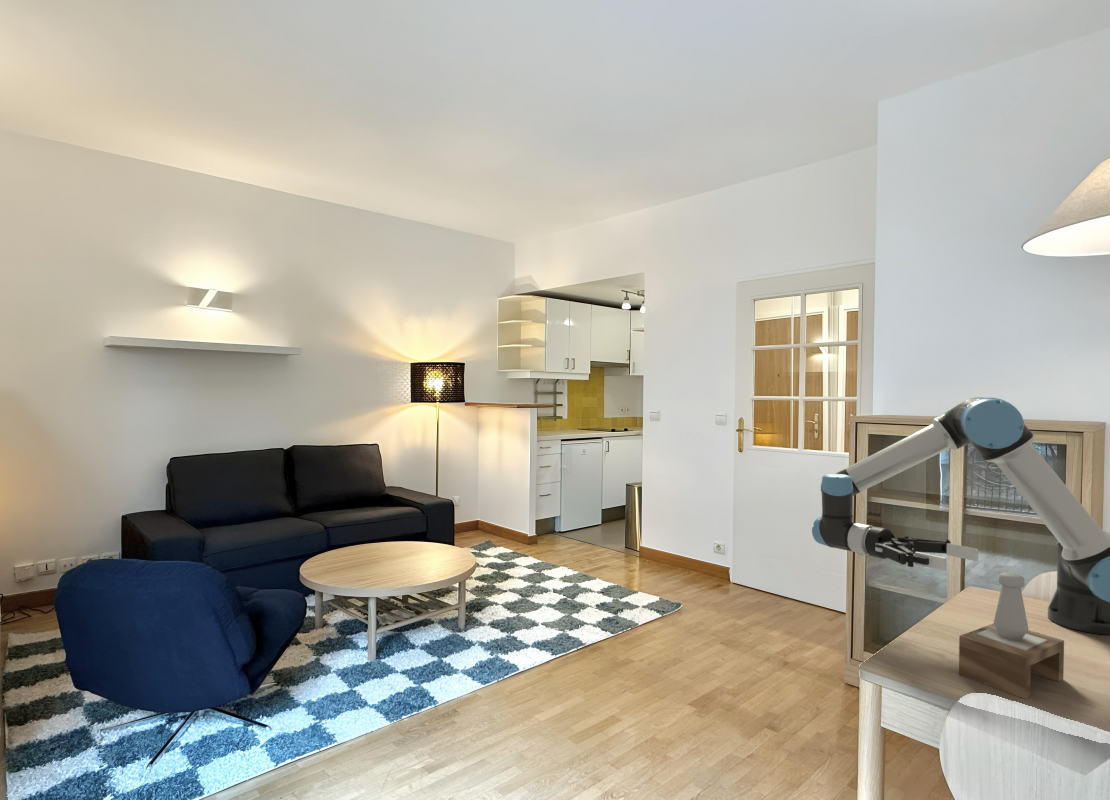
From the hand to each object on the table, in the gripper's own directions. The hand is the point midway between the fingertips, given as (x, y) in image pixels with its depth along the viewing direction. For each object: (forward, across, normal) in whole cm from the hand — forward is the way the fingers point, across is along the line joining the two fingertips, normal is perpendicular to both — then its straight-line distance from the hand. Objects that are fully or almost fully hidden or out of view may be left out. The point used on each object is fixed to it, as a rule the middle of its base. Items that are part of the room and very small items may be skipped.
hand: (962, 559), depth 141 cm
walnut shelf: (+11, +4, -21) cm, 24 cm away
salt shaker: (+11, +4, -13) cm, 18 cm away
